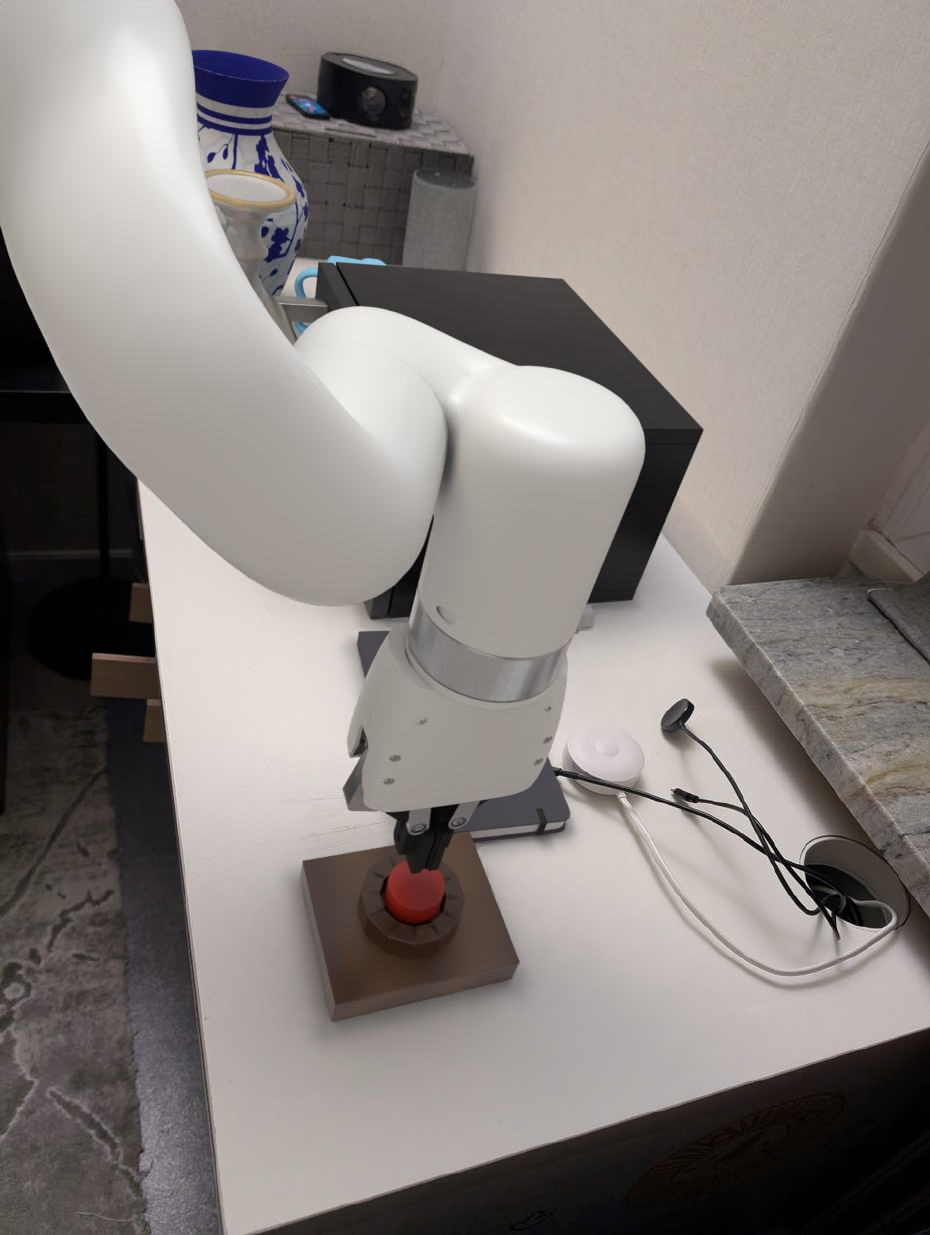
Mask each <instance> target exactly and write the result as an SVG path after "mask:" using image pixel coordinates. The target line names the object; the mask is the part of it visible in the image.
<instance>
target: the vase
mask: <svg viewBox="0 0 930 1235" xmlns="http://www.w3.org/2000/svg"><path fill="white" fill-rule="evenodd" d="M191 52H192V57H193V67H194V75H195V92H196V109H197V126H198V139H199V145H200V152H201V159H202V164H203V168H204V171H208V170H214V169H235V170H244V171H250V172H255V173H259V174H263V175H267V176H270V177H273V178H275V179H278V180H280V181H282V182H284V183H286V184H287V185H289V186H290V187H291V188H292V189H293V190H294V192H295V194H296V202H295V204H294V206H293V207H292V208H291V209H289V210H287V211H284V212H280V213H273V214H270V216H269V218H268V219H267V220H266V221H265V222H264V223H263V226H262V229H261V237H262V240H263V242H264V244H265V246H266V247H267V249H268V256H267V257H266V258H265V259H263V263H262V264H261V265H260V267H259V270H258V274H259V278H260V280H261V283H262V285H263V287H264V289H265V291H266V292H267V294H268V296H271V295H276V296H282V293H283V290H284V288H285V286H286V283H287V281H288V279H289V276H290V273H291V271H292V269H293V267H294V264H295V262H296V259H297V257H298V254H299V250H300V248H301V245H302V243H303V240H304V237H305V235H306V232H307V228H308V223H309V222H308V221H309V216H310V207H309V206H310V205H309V199H308V194H307V191H306V187H305V185H304V184H303V181H302V180H301V178H300V177H299V176H298V174H297V173H296V171H295V170H294V169H293V167H292V166H291V165H290V163H289V161H288V160H287V158H286V157H285V156H284V154H283V152H282V150H281V148H280V147H279V145H278V143H277V139H276V137H275V135H274V131H273V112H274V109H275V106H276V103H277V101H278V99H279V97H280V96H281V93H282V91H283V90H284V88H285V86H286V84H287V83H288V81H289V78H290V73H289V72H288V70H286V69H285V68H284V67H282V66H280V65H279V64H275V63H273V62H270V61H267V60H264V59H262V58H257V57H254V56H250V55H246V54H242V53H236V52H230V51H223V50H215V49H214V50H213V49H191ZM214 207H215V210H216V213H217V216H218V219H219V221H220V224H221V226H222V228H223V230H224V233H226V231H227V223H226V219H225V217H224V215H223V214H222V212H221V211H220V209H219V206H217V205H214Z"/></svg>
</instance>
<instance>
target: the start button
mask: <svg viewBox="0 0 930 1235" xmlns="http://www.w3.org/2000/svg"><path fill="white" fill-rule="evenodd" d="M444 891H445V882H444V879H443V876H442V874H441V873H440V871H439V870H433V871H428V869H425V868H424V870H422V871H421V873H416V874H411V872H410V869H409V866H408V863H407V860H405V861H403V862H401V863H399V864H398V865H396V866H395V867H394V868H393V870H392V871H391V873H390V875H389V879H388V883H387V887H386V891H385V903H386V906H387V908H388V910H389V911H390V913H391V914H392V915H393V916H394V917H395V918H397V919H398V920H400V921H402V922H405V923H409V924H420V923H424V922H426V921H428V920H430V919H431V918H433V917H434V916H435V914H436V913H437V911H438V910H439V907H440V904H441V901H442V898H443V895H444Z"/></svg>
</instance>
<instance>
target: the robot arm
mask: <svg viewBox="0 0 930 1235" xmlns="http://www.w3.org/2000/svg"><path fill="white" fill-rule="evenodd" d="M191 46H192V45H191V42H190V37H189V33H188V30H187V25H186V23H185V20H184V17H183V15H182V12H181V10H180V8H179V6H178V5H177V3H176V1H175V0H0V228H1V229H0V230H1V232H2V236H3V239H4V243H5V246H6V250H7V253H8V256H9V258H10V262H11V266H12V269H13V271H14V274H15V276H16V279H17V280H18V283H19V285H20V288H21V290H22V292H23V294H24V297H25V299H26V302H27V304H28V306H29V308H30V310H31V313H32V315H33V316H34V320H35V321H36V322H35V323H36V324H37V326H38V328H39V330H40V332H41V334H42V336H43V338H44V340H45V342H46V344H47V347H48V348H49V352H50V354H51V355H52V358H53V360H54V362H55V365H56V367H57V368H58V370H59V372H60V375H61V376H62V377H63V379H64V382H65V383H66V385H67V388H68V390H69V391H70V394H71V395H72V397H73V398H74V399H75V401H76V402H77V404H78V406H79V408H80V409H81V411H82V412H83V414H84V416H85V417H86V419H87V421H88V422H89V423H90V424H91V426H92V427H93V428H94V430H95V431H96V432H97V434H98V435H99V436H100V438H101V439H102V441H103V442H104V443H105V444H106V446H107V447H108V448H109V449H110V450H111V451H112V452H113V454H114V455H115V456H116V457H117V458H118V459H119V461H120V462H121V463H122V464H123V465H124V466H125V467H126V468H127V469H128V470H129V471H130V472H131V473H132V474H133V476H135V477H136V478H137V480H139V481H140V482H141V484H143V485H144V486H145V487H146V488H147V489H148V490H149V491H151V492H152V493H153V494H154V496H156V497H157V498H158V499H159V501H161V502H162V504H164V506H166V507H167V508H168V509H169V510H170V511H171V512H172V513H173V514H174V515H175V516H176V517H177V518H178V519H179V520H180V521H181V522H182V523H183V524H184V525H185V526H186V527H187V528H188V529H189V530H190V531H191V532H192V533H193V534H195V536H196V537H198V538H199V539H200V540H201V542H203V543H204V544H205V545H206V546H207V547H208V548H210V549H211V550H212V551H213V552H214V553H216V554H217V555H218V556H219V557H220V558H222V559H223V560H224V561H225V562H226V563H228V564H229V566H231V567H233V568H234V569H236V570H237V571H239V572H240V573H241V574H242V575H244V576H245V577H246V578H248V579H250V580H252V581H253V582H255V583H256V584H258V585H260V586H262V587H264V588H265V589H267V590H268V591H270V592H273V593H275V595H276V594H277V595H279V596H282V597H284V598H287V599H289V600H292V601H295V602H298V603H302V604H307V605H312V606H315V607H332V608H333V607H337V608H338V607H345V606H347V607H348V606H353V605H359V604H361V603H364V601H367V600H369V599H372V598H375V597H377V596H379V595H380V594H382V593H383V592H385V591H386V590H388V589H389V588H391V587H392V586H394V585H395V584H396V583H397V582H398V581H399V580H400V579H401V578H402V577H403V575H404V574H405V573H406V572H407V571H408V570H409V569H410V568H411V567H412V565H413V563H414V562H415V560H416V558H417V557H418V555H419V553H420V551H421V549H422V547H423V545H424V542H425V539H426V536H427V533H428V529H429V526H430V523H431V519H432V516H433V514H434V521H433V526H432V530H431V534H430V538H429V542H428V546H427V550H426V554H425V559H424V563H423V567H422V571H421V575H420V579H419V583H418V587H417V591H416V595H415V599H414V603H413V607H412V611H411V615H410V616H409V619H408V621H405V622H400V623H397V624H394V625H393V626H392V628H391V629H389V630H390V632H389V634H388V635H387V637H386V638H385V640H384V642H383V643H382V645H381V647H380V648H379V650H378V652H377V654H376V656H375V658H374V660H373V662H372V664H371V667H370V669H369V671H368V674H367V676H366V679H365V678H364V681H363V684H362V687H361V690H360V693H359V695H358V698H357V702H356V704H355V708H354V710H353V713H352V717H351V721H350V723H349V728H348V732H347V737H346V747H347V753H348V758H349V759H353V758H359V759H358V760H357V762H356V764H355V766H354V768H353V769H352V771H351V772H350V774H349V776H348V778H347V780H346V781H345V783H344V785H343V787H342V790H341V791H342V793H343V796H344V801H345V804H346V808H347V810H348V811H350V812H383V813H385V814H386V815H388V816H390V817H391V818H393V819H394V820H396V823H395V826H394V829H393V842H394V843H393V844H394V845H395V847H396V850H397V853H398V855H405V856H406V859H407V863H408V866H409V869H410V872H411V874H416V873H421V871H422V870H424V868H425V869H428V871H433V870H438V868H439V865H440V862H441V860H442V857H443V854H444V851H445V849H446V848H447V847H448V846H449V844H450V841H451V838H452V835H453V833H454V830H455V829H457V828H460V827H463V826H464V825H465V824H467V822H468V821H469V819H470V817H471V816H472V814H473V812H474V811H475V809H476V808H477V807H479V806H480V805H482V804H483V803H485V802H486V801H488V800H490V799H492V798H498V797H503V796H509V795H513V794H516V793H519V792H522V791H524V790H526V789H528V788H529V787H530V786H531V785H532V784H533V783H534V781H535V780H536V779H537V777H538V776H539V774H540V772H541V770H542V768H543V766H544V764H545V762H546V759H547V757H548V758H549V755H550V751H551V749H552V747H553V743H554V740H555V738H556V734H557V732H558V728H559V724H560V721H561V717H562V712H563V708H564V704H565V698H566V691H567V681H568V668H569V662H568V657H567V653H568V650H569V647H570V645H571V643H572V641H573V638H574V636H576V635H577V634H579V633H580V632H586V631H591V630H592V629H593V628H594V625H595V620H596V618H595V612H594V609H593V607H592V606H591V604H590V603H587V601H588V599H589V596H590V594H591V591H592V589H593V586H594V584H595V581H596V579H597V576H598V574H599V572H600V569H601V567H602V564H603V562H604V560H605V557H606V555H607V552H608V550H609V547H610V545H611V543H612V540H613V538H614V535H615V533H616V531H617V528H618V526H619V523H620V521H621V519H622V516H623V514H624V511H625V509H626V506H627V504H628V502H629V499H630V497H631V494H632V492H633V490H634V487H635V485H636V482H637V480H638V477H639V474H640V471H641V468H642V465H643V462H644V456H645V438H644V433H643V429H642V427H641V424H640V422H639V419H638V418H637V417H636V415H635V414H634V413H633V411H632V410H631V409H630V407H629V406H628V405H627V404H626V403H625V402H624V401H623V400H622V399H621V398H620V397H618V396H617V395H615V394H614V393H613V392H611V391H610V390H608V389H606V388H605V387H603V386H601V385H599V384H597V383H595V382H593V381H591V380H589V379H586V378H584V377H581V376H579V375H576V374H573V373H569V372H566V371H562V370H558V369H553V368H547V367H539V366H517V365H514V364H511V363H509V362H506V361H504V360H501V359H499V358H496V357H494V356H492V355H490V354H487V353H485V352H483V351H481V350H479V349H476V348H474V347H472V346H470V345H468V344H465V343H463V342H461V341H459V340H457V339H455V338H453V337H451V336H449V335H447V334H445V333H442V332H440V331H438V330H436V329H434V328H432V327H430V326H428V325H426V324H424V323H421V322H419V321H417V320H415V319H412V318H409V317H407V316H404V315H402V314H399V313H396V312H392V311H389V310H385V309H381V308H374V307H364V306H356V307H348V308H342V309H338V310H335V311H332V312H330V313H328V314H326V315H324V316H322V317H321V318H319V319H317V320H316V321H315V322H313V323H312V324H311V325H310V326H309V327H308V328H307V329H306V330H305V331H304V332H303V333H301V334H300V336H298V337H297V341H296V342H295V344H294V345H293V346H292V344H291V343H290V342H289V341H288V339H287V338H286V336H285V335H284V334H283V332H282V331H281V330H280V328H279V327H278V326H277V324H276V323H275V322H274V320H273V319H272V318H271V316H270V315H269V313H268V311H267V310H266V308H265V307H264V305H263V304H262V302H261V301H260V299H259V297H258V296H257V294H256V293H255V291H254V290H253V288H252V286H251V285H250V283H249V281H248V279H247V277H246V275H245V274H244V272H243V270H242V268H241V266H240V264H239V262H238V261H237V259H236V257H235V255H234V253H233V251H232V249H231V246H230V244H229V242H228V239H227V237H226V235H225V233H224V230H223V228H222V226H221V224H220V221H219V219H218V216H217V213H216V210H215V207H214V204H213V201H212V198H211V195H210V192H209V189H208V185H207V181H206V177H205V173H204V168H203V164H202V159H201V152H200V145H199V139H198V126H197V98H196V92H195V75H194V67H193V57H192V52H191V50H192V47H191Z"/></svg>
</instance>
